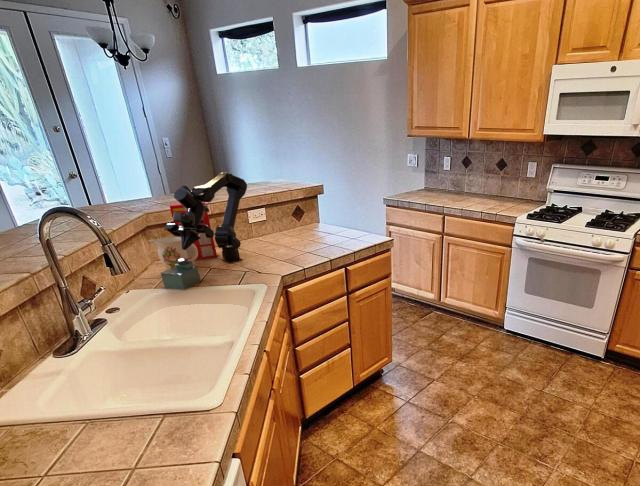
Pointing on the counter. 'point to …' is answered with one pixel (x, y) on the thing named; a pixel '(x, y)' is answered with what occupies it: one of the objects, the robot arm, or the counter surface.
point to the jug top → (181, 276)
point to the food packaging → (203, 244)
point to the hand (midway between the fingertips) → (183, 249)
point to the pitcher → (171, 251)
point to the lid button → (183, 261)
